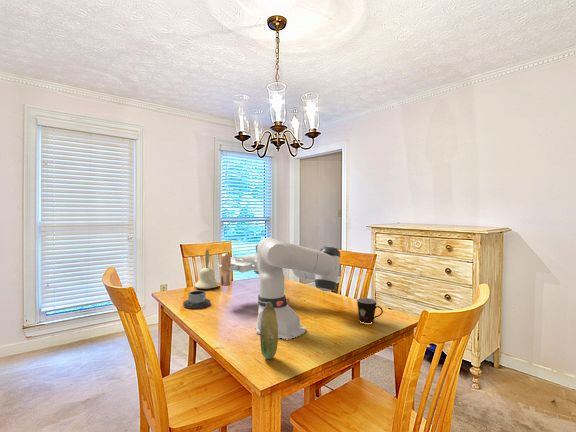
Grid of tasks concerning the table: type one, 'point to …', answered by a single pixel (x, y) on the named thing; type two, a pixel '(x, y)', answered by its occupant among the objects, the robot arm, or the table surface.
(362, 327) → the table surface
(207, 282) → the handbell
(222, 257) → the copper pipe
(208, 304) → the pipe sleeve
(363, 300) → the coffee mug
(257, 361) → the table surface
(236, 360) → the table surface
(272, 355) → the vegetable
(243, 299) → the table surface
